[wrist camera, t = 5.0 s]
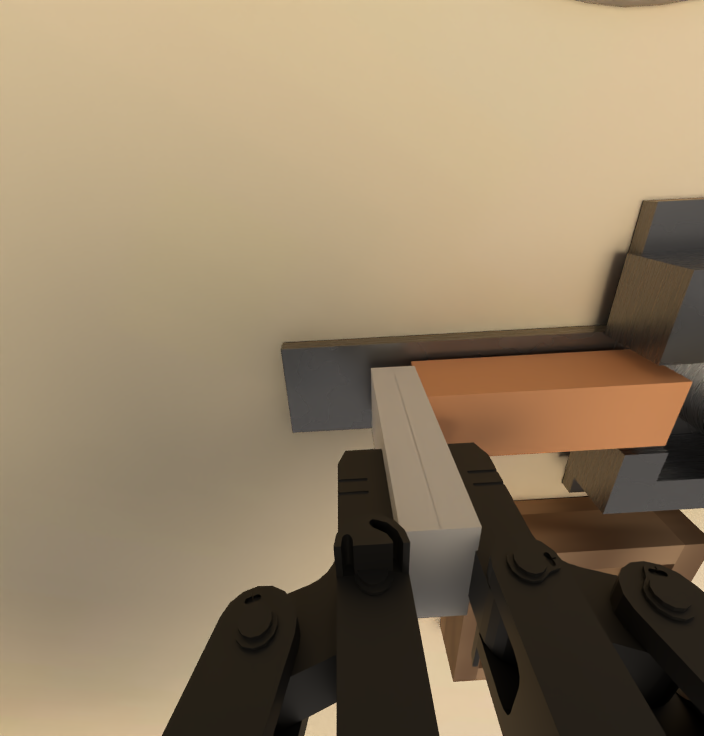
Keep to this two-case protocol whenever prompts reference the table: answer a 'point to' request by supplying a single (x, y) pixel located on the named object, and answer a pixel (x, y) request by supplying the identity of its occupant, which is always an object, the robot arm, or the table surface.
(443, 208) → the table surface
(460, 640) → the tray
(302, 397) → the socket
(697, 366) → the grey cylindrical peg
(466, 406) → the orange rectangular bar
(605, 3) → the pliers
